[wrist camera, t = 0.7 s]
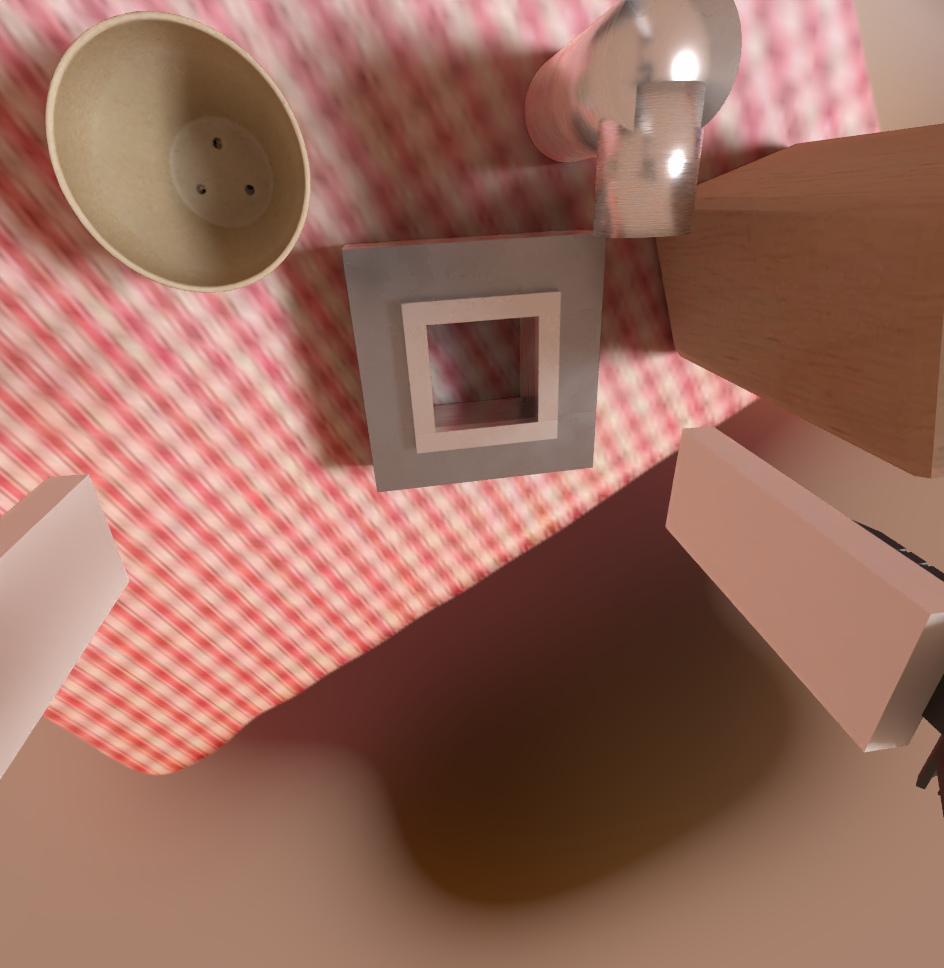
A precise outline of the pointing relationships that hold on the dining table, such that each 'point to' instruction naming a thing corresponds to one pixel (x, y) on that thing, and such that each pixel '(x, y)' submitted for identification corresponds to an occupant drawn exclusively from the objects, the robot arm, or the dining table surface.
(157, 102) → the flower pot
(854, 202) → the block
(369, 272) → the duct socket
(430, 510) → the dining table surface
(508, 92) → the dining table surface
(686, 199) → the elbow
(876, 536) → the robot arm
